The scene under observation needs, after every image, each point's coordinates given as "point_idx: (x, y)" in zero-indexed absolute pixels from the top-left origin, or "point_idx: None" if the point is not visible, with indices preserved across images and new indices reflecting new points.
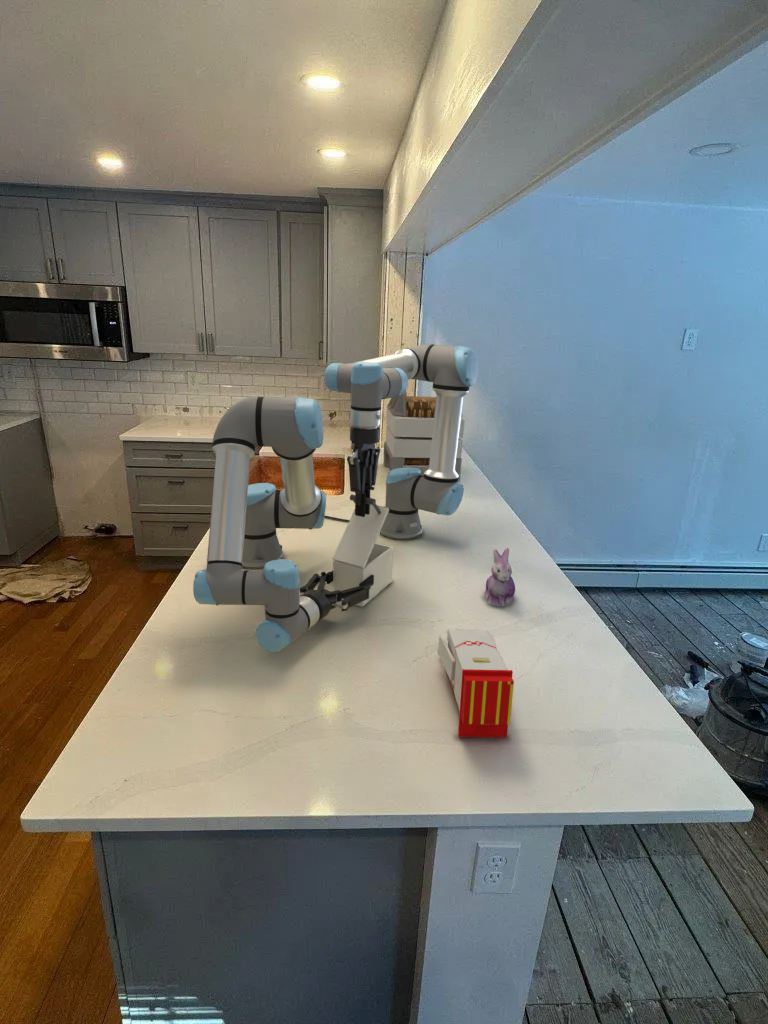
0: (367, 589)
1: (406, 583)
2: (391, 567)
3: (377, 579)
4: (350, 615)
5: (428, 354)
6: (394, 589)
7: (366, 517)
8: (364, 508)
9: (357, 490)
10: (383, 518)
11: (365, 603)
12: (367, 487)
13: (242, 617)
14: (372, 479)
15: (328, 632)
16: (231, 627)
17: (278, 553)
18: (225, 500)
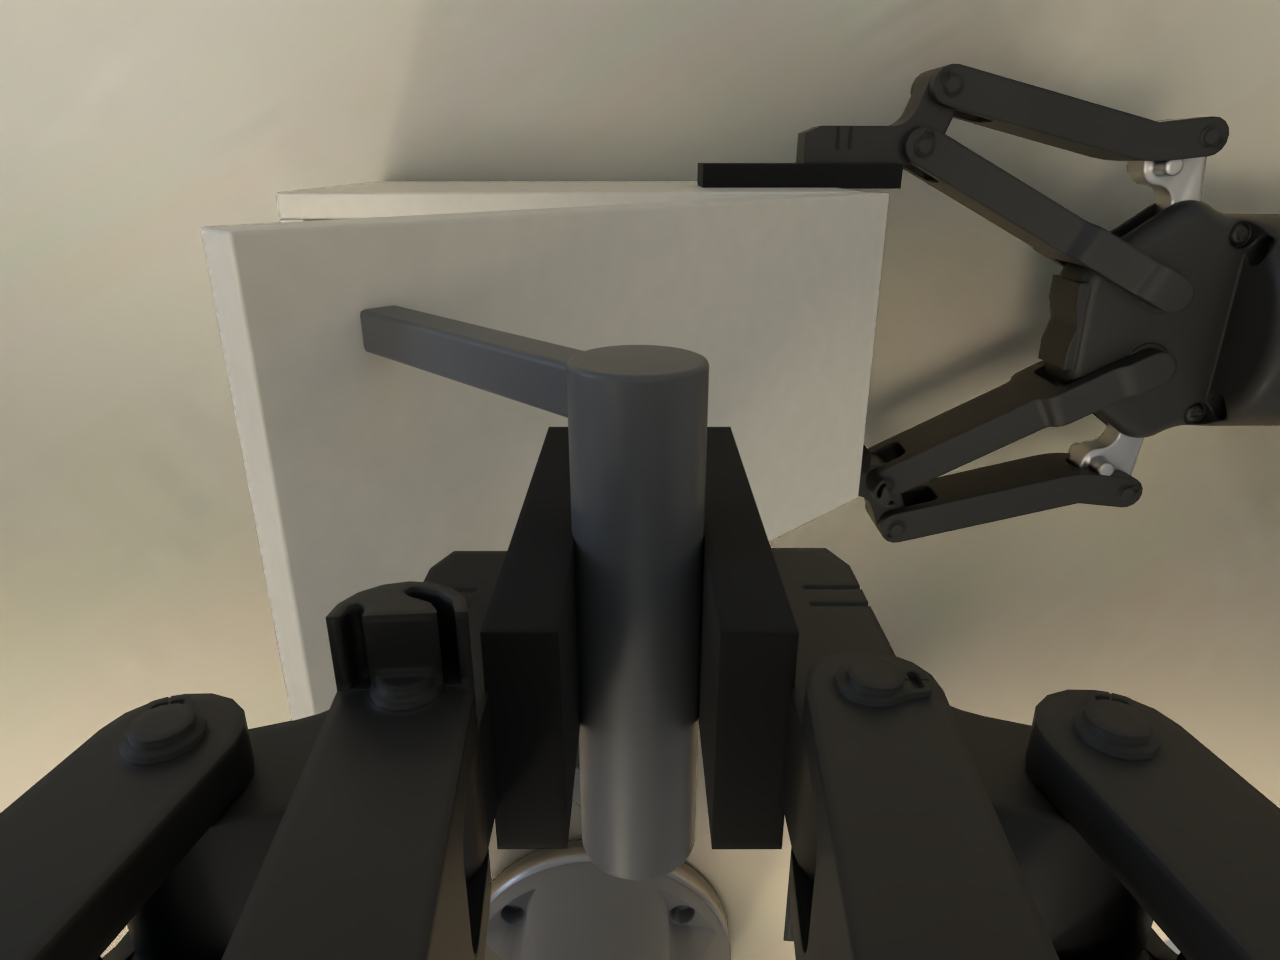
0: (959, 76)
1: (329, 79)
2: (366, 185)
3: (600, 184)
4: (921, 192)
5: None
6: (462, 113)
7: (497, 476)
8: (732, 476)
9: (1198, 775)
10: (438, 218)
11: None
12: (478, 756)
13: (1165, 651)
14: (151, 887)
15: (1152, 200)
16: (1266, 635)
17: (575, 884)
18: None
